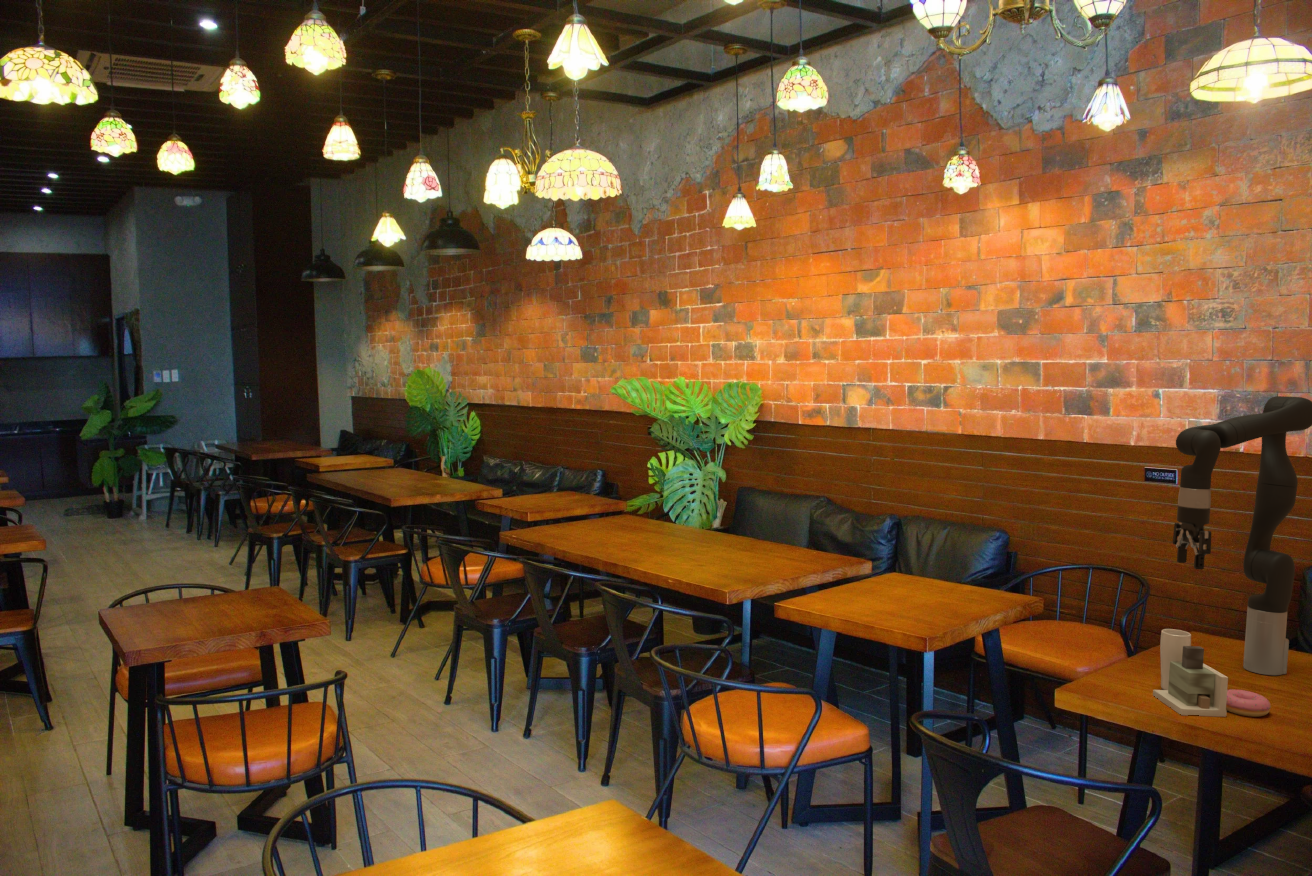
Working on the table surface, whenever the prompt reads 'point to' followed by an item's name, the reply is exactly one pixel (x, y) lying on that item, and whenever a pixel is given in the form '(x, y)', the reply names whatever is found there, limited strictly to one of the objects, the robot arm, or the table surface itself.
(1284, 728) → the table surface
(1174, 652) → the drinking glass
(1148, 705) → the table surface
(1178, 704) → the stand
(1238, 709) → the doughnut
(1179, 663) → the olive boxy piece
